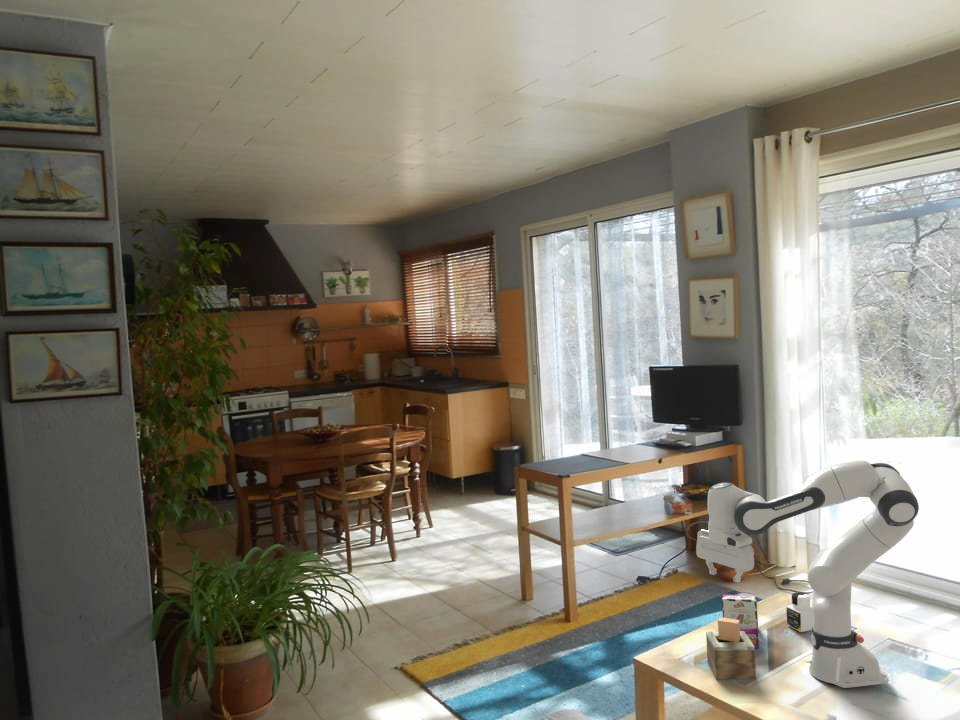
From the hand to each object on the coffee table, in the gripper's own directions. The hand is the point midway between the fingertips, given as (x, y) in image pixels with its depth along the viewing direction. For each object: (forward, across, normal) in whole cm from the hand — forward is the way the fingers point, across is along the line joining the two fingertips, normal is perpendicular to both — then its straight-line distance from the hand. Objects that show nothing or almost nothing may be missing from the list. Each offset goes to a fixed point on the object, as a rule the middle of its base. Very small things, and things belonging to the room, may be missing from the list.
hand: (724, 577), depth 235 cm
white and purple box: (+30, -15, +28) cm, 44 cm away
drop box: (+29, +1, 0) cm, 29 cm away
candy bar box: (+30, -9, +18) cm, 36 cm away
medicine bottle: (+29, -6, +46) cm, 54 cm away
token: (+19, +1, 0) cm, 19 cm away
